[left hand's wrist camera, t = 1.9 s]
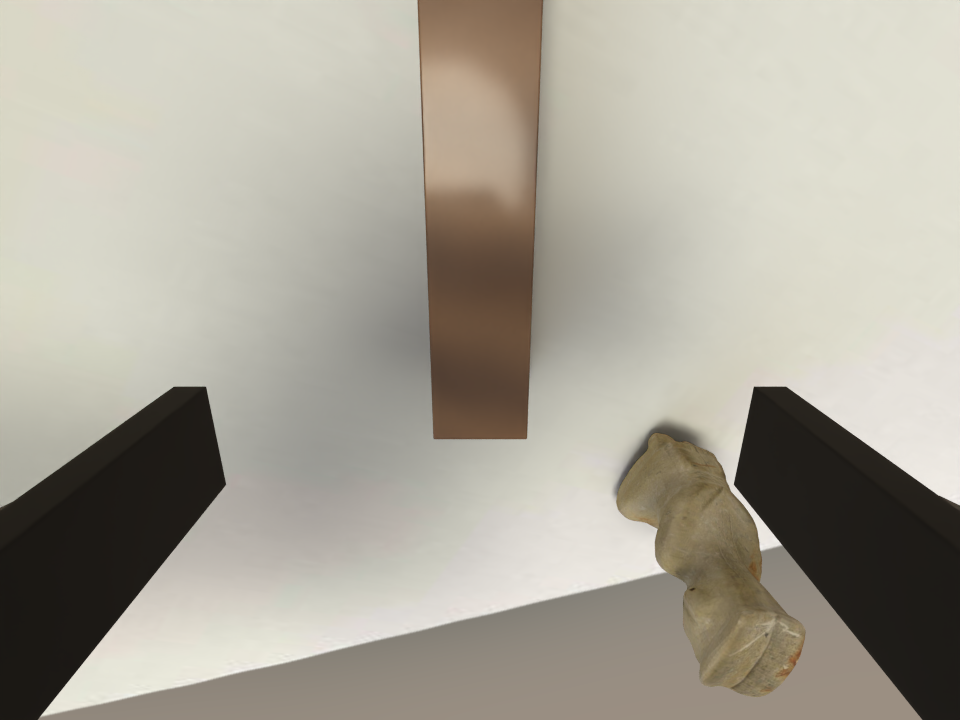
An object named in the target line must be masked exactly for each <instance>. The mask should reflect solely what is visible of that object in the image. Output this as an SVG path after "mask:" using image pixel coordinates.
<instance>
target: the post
mask: <svg viewBox="0 0 960 720" xmlns="http://www.w3.org/2000/svg"><path fill="white" fill-rule="evenodd" d="M542 15H543V0H418V25H419V52H420V80H421V107H422V135H423V162H424V190H425V218H426V245H427V273H428V300H429V328H430V355H431V383H432V411H433V438H434V439H527V423H528V396H529V369H530V341H531V314H532V287H533V260H534V232H535V205H536V178H537V151H538V123H539V96H540V69H541V42H542Z"/></svg>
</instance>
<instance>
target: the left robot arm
mask: <svg viewBox="0 0 960 720" xmlns="http://www.w3.org/2000/svg"><path fill="white" fill-rule="evenodd" d="M225 485H226V482H225V477H224V472H223V467H222V462H221V457H220V453H219V448H218V443H217V438H216V433H215V428H214V423H213V419H212V414H211V409H210V404H209V399H208V394H207V389H206V387H173V388H172V389H170V390H169V391H167V392H166V393H165V394H163V395H162V396H160V397H159V398H158V399H156V400H155V401H153V402H152V403H151V404H149V405H148V406H146V407H145V408H144V409H142V410H141V411H139V412H138V413H137V414H135V415H134V416H132V417H131V418H130V419H128V420H127V421H125V422H124V423H123V424H121V425H120V426H118V427H117V428H116V429H114V430H113V431H111V432H110V433H109V434H107V435H106V436H104V437H103V438H102V439H100V440H99V441H97V442H96V443H95V444H93V445H92V446H90V447H89V448H88V449H86V450H85V451H83V452H82V453H81V454H79V455H78V456H76V457H75V458H74V459H72V460H71V461H69V462H68V463H67V464H65V465H64V466H62V467H61V468H60V469H58V470H57V471H55V472H54V473H53V474H51V475H50V476H48V477H47V478H46V479H44V480H43V481H41V482H40V483H39V484H37V485H36V486H34V487H33V488H32V489H30V490H29V491H27V492H26V493H25V494H23V495H22V496H20V497H19V498H18V499H16V500H15V501H13V502H11V503H9V504H7V505H5V506H3V507H1V508H0V720H38V719H39V717H40V716H41V715H42V714H43V712H44V711H45V710H46V709H47V707H48V706H49V705H50V704H51V702H52V701H53V700H54V699H55V697H56V696H57V695H58V694H59V692H60V691H61V690H62V689H63V687H64V686H65V685H66V684H67V682H68V681H69V680H70V679H71V677H72V676H73V675H74V674H75V672H76V671H77V670H78V669H79V667H80V666H81V665H82V664H83V662H84V661H85V660H86V659H87V657H88V656H89V655H90V654H91V652H92V651H93V650H94V649H95V647H96V646H97V645H98V644H99V642H100V641H101V640H102V639H103V637H104V636H105V635H106V634H107V632H108V631H109V630H110V629H111V628H112V626H113V625H114V624H115V623H116V621H117V620H118V619H119V618H120V616H121V615H122V614H123V613H124V611H125V610H126V609H127V608H128V606H129V605H130V604H131V603H132V601H133V600H134V599H135V598H136V596H137V595H138V594H139V593H140V591H141V590H142V589H143V588H144V586H145V585H146V584H147V583H148V581H149V580H150V579H151V578H152V576H153V575H154V574H155V573H156V571H157V570H158V569H159V568H160V566H161V565H162V564H163V563H164V561H165V560H166V559H167V558H168V556H169V555H170V554H171V553H172V551H173V550H174V549H175V548H176V546H177V545H178V544H179V543H180V541H181V540H182V539H183V538H184V536H185V535H186V534H187V533H188V532H189V530H190V529H191V528H192V527H193V525H194V524H195V523H196V522H197V520H198V519H199V518H200V517H201V515H202V514H203V513H204V512H205V510H206V509H207V508H208V507H209V505H210V504H211V503H212V502H213V500H214V499H215V498H216V497H217V495H218V494H219V493H220V492H221V490H222V489H223V488H224V487H225ZM734 485H735V487H736V488H737V489H738V490H739V492H740V493H741V494H742V495H743V497H744V498H745V499H746V500H747V502H748V503H749V504H750V505H751V507H752V508H753V509H754V510H755V512H756V513H757V514H758V515H759V517H760V518H761V519H762V520H763V522H764V523H765V524H766V525H767V527H768V528H769V529H770V530H771V532H772V533H773V534H774V535H775V536H776V538H777V539H778V540H779V541H780V543H781V544H782V545H783V546H784V548H785V549H786V550H787V551H788V553H789V554H790V555H791V556H792V558H793V559H794V560H795V561H796V563H797V564H798V565H799V566H800V568H801V569H802V570H803V571H804V573H805V574H806V575H807V576H808V578H809V579H810V580H811V581H812V583H813V584H814V585H815V586H816V588H817V589H818V590H819V591H820V593H821V594H822V595H823V596H824V597H825V599H826V600H827V601H828V603H829V604H830V605H831V606H832V608H833V609H834V610H835V611H836V613H837V614H838V615H839V616H840V617H841V619H842V620H843V621H844V623H845V624H846V625H847V626H848V628H849V629H850V630H851V631H852V632H853V634H854V635H855V636H856V637H857V639H858V640H859V641H860V642H861V644H862V645H863V646H864V647H865V649H866V650H867V651H868V652H869V654H870V655H871V656H872V657H873V659H874V660H875V661H876V662H877V664H878V665H879V666H880V667H881V669H882V670H883V671H884V672H885V674H886V675H887V676H888V677H889V679H890V680H891V681H892V682H893V684H894V685H895V686H896V687H897V689H898V690H899V691H900V692H901V694H902V695H903V696H904V697H905V699H906V700H907V701H908V702H909V704H910V705H911V706H912V707H913V709H914V710H915V711H916V712H917V714H918V715H919V716H920V717H921V718H922V720H960V505H957V504H955V503H953V502H951V501H949V500H947V499H945V498H943V497H941V496H938V495H937V494H935V493H934V492H933V491H931V490H930V489H928V488H927V487H926V486H924V485H923V484H921V483H920V482H919V481H917V480H916V479H914V478H913V477H912V476H910V475H909V474H907V473H906V472H905V471H903V470H902V469H900V468H899V467H898V466H896V465H895V464H893V463H892V462H891V461H889V460H888V459H886V458H885V457H884V456H882V455H881V454H879V453H878V452H877V451H875V450H874V449H872V448H871V447H870V446H868V445H867V444H865V443H864V442H863V441H861V440H860V439H858V438H857V437H856V436H854V435H853V434H851V433H850V432H849V431H847V430H846V429H844V428H843V427H842V426H840V425H839V424H837V423H836V422H835V421H833V420H832V419H830V418H829V417H828V416H826V415H825V414H823V413H822V412H821V411H819V410H818V409H816V408H815V407H814V406H812V405H811V404H809V403H808V402H807V401H805V400H804V399H802V398H801V397H800V396H798V395H797V394H795V393H794V392H793V391H791V390H790V389H788V388H787V387H754V389H753V394H752V399H751V404H750V409H749V414H748V419H747V423H746V428H745V433H744V438H743V443H742V448H741V453H740V457H739V462H738V467H737V472H736V477H735V482H734Z"/></svg>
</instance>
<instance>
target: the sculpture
mask: <svg viewBox="0 0 960 720" xmlns="http://www.w3.org/2000/svg"><path fill="white" fill-rule="evenodd" d="M616 503H617V507H618V510H619V511H620V513H621V514H622V515H624V516H625V517H626V518H628V519H630V520H633V521H640V522H645V523H648V524H650V525H652V526H653V527H655V528H657V529H658V531H657V535H656V539H655V556H656V560H657V562H658V564H659V565H660V566H661V568H662V569H664V570H665V571H666V572H668V573H670V574H671V575H673V576H675V577H677V578H679V579H681V580H682V581H683V582H685V583H686V585H687V590H686V591H685V593H684V596H683V626H684V630H685V633H686V635H687V637H688V638H689V640H690V642H691V644H692V647H693V649H694V652H695V656H696V658H697V660H698V661H699V663H700V672H699V679H700V681H701V683H702V684H703V685H705V686H709V687H713V686H724V687H727V688H729V689H731V690H733V691H736V692H738V693H740V694H743V695H746V696H751V697H760V696H764V695H767V694H768V693H770V692H772V691H773V690H774V689H776V688H777V687H778V686H779V685H781V684H782V682H783V681H784V680H785V679H786V677H787V676H788V675H789V674H790V672H791V671H792V669H793V668H794V666H795V665H796V663H797V662H798V659H799V657H800V655H801V651H802V647H803V643H804V640H805V628H804V626H803V625H802V624H801V623H800V622H799V621H798V620H796V619H794V618H792V617H791V616H789V615H788V614H787V613H786V612H785V611H784V610H783V609H782V607H781V606H780V605H779V604H778V603H777V601H776V600H775V599H774V598H773V597H772V596H771V594H770V593H769V592H768V591H767V590H766V589H765V588H764V587H763V586H762V585H761V583H760V578H761V572H762V569H761V568H762V567H761V565H762V557H761V552H760V547H759V538H758V532H757V528H756V525H755V522H754V520H753V518H752V517H751V515H750V514H749V512H748V511H747V509H746V508H745V507H744V505H743V504H742V503H741V502H740V501H739V500H738V499H737V498H736V497H735V496H734V494H733V493H732V492H731V491H730V488H729V485H728V484H727V482H726V477H725V473H724V471H723V468H722V466H721V464H720V463H719V462H718V461H717V459H716V457H715V455H714V454H712V453H711V452H709V451H707V450H705V449H702V448H699V447H697V446H695V445H693V444H691V443H689V442H686V441H683V442H677V441H675V440H674V439H673V438H671V437H670V436H668V435H665V434H660V433H654V434H652V435H651V437H650V438H649V440H648V449H647V451H646V452H645V453H644V454H643V455H642V456H641V457H640V458H639V459H638V460H637V461H636V463H635V464H634V465H633V467H632V468H631V469H630V471H629V472H628V474H627V476H626V477H625V479H624V480H623V482H622V484H621V486H620V488H619V491H618V494H617V501H616Z"/></svg>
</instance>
